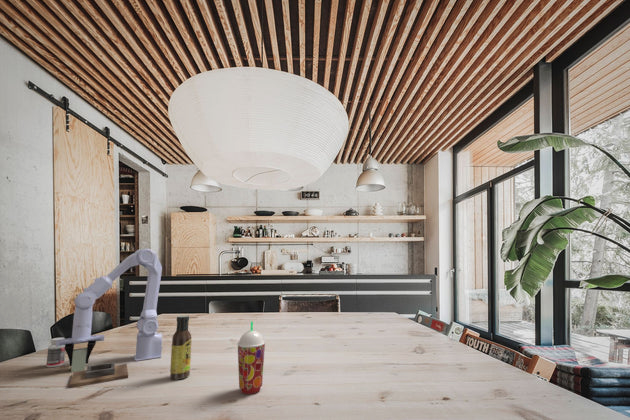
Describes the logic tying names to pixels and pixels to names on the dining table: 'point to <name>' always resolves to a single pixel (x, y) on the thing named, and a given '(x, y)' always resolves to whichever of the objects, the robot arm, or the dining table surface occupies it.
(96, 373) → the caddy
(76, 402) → the dining table surface
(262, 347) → the smoothie
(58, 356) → the pill bottle
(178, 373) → the sauce bottle
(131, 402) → the dining table surface
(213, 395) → the dining table surface
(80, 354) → the peg
